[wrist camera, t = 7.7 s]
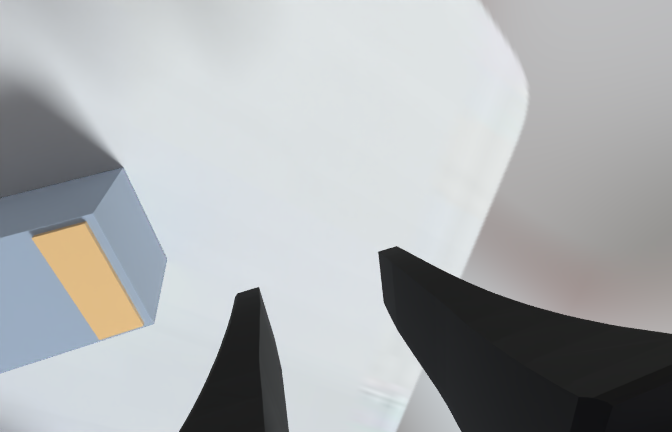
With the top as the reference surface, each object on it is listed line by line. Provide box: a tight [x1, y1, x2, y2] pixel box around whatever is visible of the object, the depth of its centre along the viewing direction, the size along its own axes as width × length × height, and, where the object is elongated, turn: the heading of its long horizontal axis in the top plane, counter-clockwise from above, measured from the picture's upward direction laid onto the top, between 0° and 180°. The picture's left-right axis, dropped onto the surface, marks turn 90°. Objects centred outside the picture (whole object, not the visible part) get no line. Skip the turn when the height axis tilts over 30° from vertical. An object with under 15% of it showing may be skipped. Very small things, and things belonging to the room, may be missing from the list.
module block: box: [0, 167, 167, 373], centre depth 15 cm, size 5×7×5 cm
